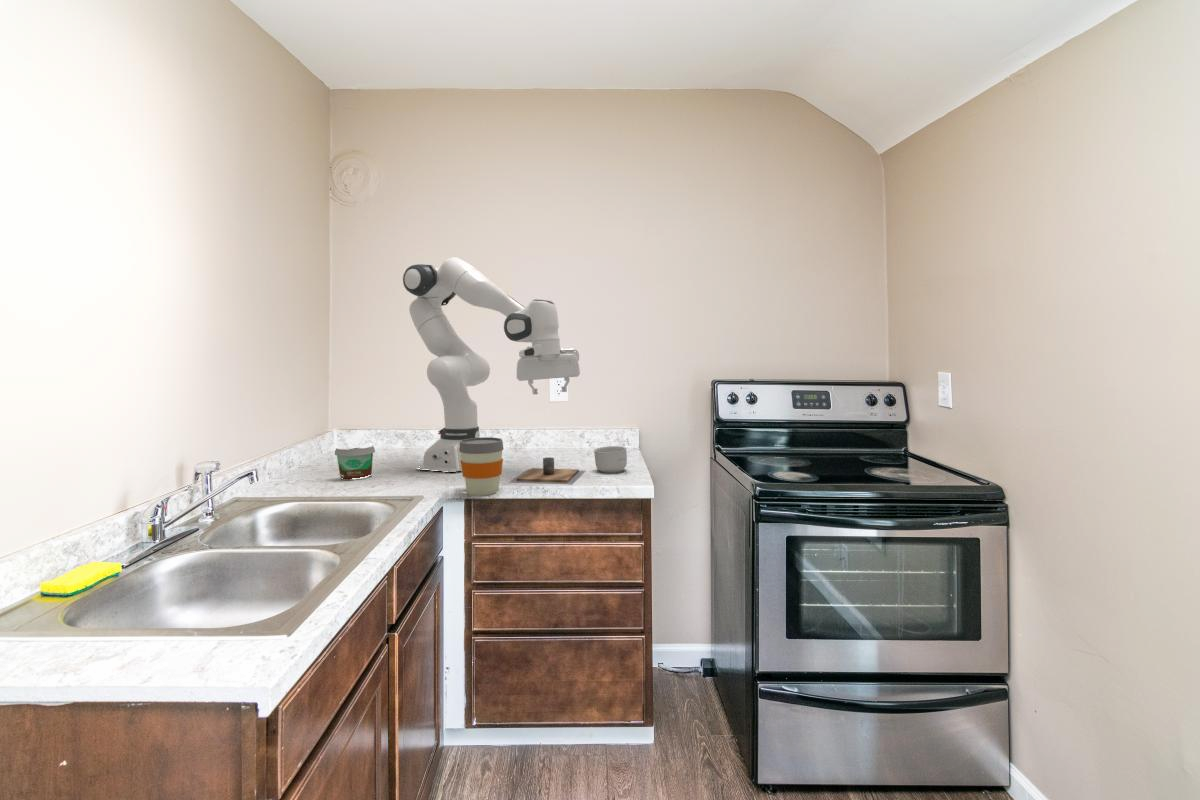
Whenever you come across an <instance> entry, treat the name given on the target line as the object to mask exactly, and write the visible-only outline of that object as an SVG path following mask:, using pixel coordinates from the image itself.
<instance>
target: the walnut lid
mask: <svg viewBox="0 0 1200 800" xmlns="http://www.w3.org/2000/svg"><path fill="white" fill-rule="evenodd" d="M579 471H580V470H579V469H575V468H574V469H573V468H572V469H571V468H569V469H568V468H555V458H554V457H551V456H549V457H543V458H542V468H538V467H537V468H534V467H532V468H530V470H529V471H527V472H526V473H524V474H523V475H521V476H520V477H518V478H517V481H529V482H560V483H567V482H569V481H570V480H571V479H572V478H573V477H574V476H575V475H576V474H577V473H578V472H579Z"/></svg>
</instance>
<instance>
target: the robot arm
mask: <svg viewBox="0 0 1200 800" xmlns="http://www.w3.org/2000/svg"><path fill="white" fill-rule="evenodd" d="M402 282H403V283H402V284H403V286H404V289H405V290H406V291H407V292H408V293H409V294H412V295H413V296H416V298H415V299H414V300H413V301H412V302H411V303H410V305H409V308H408V309H409V314H410V317H411V320H412V323H413V325H414V327H415V329H416V331H417V333H418V335H419V336H420V338H421V340H422V341H423V343H424V345H425V347H426V348H427V350H428V352H430V354H433V355H434V356H436V358H433V359H432V360H430V362H429V364H427V368H426V376H427V380H428V381H429V383H430V384H431V385H432V386H434V387H435V389H436V390H437V392H438V393H439V396H440V398H441V401H442V405H443V413H444V415H443V416H444V419H443V420H444V427H443V428H442V429H441V428H440V430H438V431H437V432H438V435H440V436H439V439H437V441H436V442H434V443H433V444H432V445H431V446H429V447H428V448H427V449H426V450H425V451H424V455H423V459H422V461H423V462H422V463H420V464H418V465H417V466H416V469H417V468H420V469H429V470H438V471H448V472H455V471H461V472H462V467H461V460H462V458H461V452H459V448H460V441H461V440H464V439H470V438H481V436H480V427H479V425H478V405H477V403H476V401H474V400H473V399H472V397H471V396H470V395H469V391H468V388H467V387H475V386H478V385H479V384H482V383H485V382H486V381H487V380H488V378H489V376H490V373H491V368H490V364H489V362H488V360H487V359H485V358H484V357H483V356H480V355H479V354H477V353H476V352H475V351H474V350H473V349H472V348H471V347H470V346H469V345H467V344H466V343H465V342H464V341H463V340H462V338H461V337H460V336H459V335H458V334H457V332H456V331H455V329H454V327H453V326H452V324H451V323H450V320H449V319H448V317H447V316H446V313H444V310H443V309H442V306H446V305H449V303H450V301H451V300H452V299H454V298H455V297H456V296H457V297H458V298H460V299H461V300H462V301H464V302H465V303H467V304H469V305H472V306H474V307H479V308H483V309H490V310H492V311H496V312H499V313H500V314H502V315H504V316H505V317H506V318H505V319H504V322H503V331H504V335H505V337H507V339H508V340H510V341H512V342H517V343H531V344H532V345H531V346H527V347H526V348H523V349H521V350H520V351H519V352H518V356H519V359H518V360H517V362H516V379H517V380H518V381H519V382H523V381H527V383H528V386H529V387H530V388H531V391H532V395H538V394H539V392H538V388H535V386H534V385H533V384H534V380H535V381H536V380H547V379H548V380H549V379H551V380H552V379H563V380H564V382H565V383H564V385H563V386H561V393H568V385H569V383H570V378H577V377H579V376H580V374H581V370H580V364H579V360H580V353H579V351H578V350H576V349H575V348H561V344H560V343H561V342H560V341H561V340H560V336H559V328H560V327H559V316H558V311H557V310H558V309H557V306H556V304H555V303H554V302H553V301H551V300H547V299H546V300H545V299H537V298H536V299H535V298H534V299H532V300H531V301H530V302H529V303H528V304H527V305H526V306H524V305H523V304H521V303H519V302H518V301H517V300H515V299H514V298H513V297H511V296H510V295H508V293H506V292H504V290H503V289H501V288H500V287H499V286H498V285H496V284H495V283H493V282H492V281H491V280H490V279H489V278H488V277H487V276H485V274H483V273H482V272H481V271H479V270H478V269H477V268H476V267H474V266H473V265H472V264H470V263H469V262H467V261H465V260H463V259H461V258H459V257H456V256H454V257H449V258H447V259H445V261H443V262H442V264H441V265H440V266H439V267H437V266H433V265H432V264H424V263H422V264H421V263H419V264H413V265H410V266H408V267H407V268H406V270H405V271H404V272H403V275H402ZM419 466H420V467H419Z"/></svg>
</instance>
